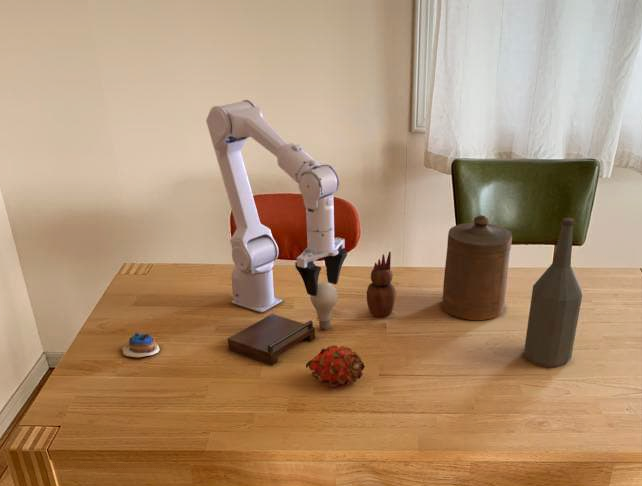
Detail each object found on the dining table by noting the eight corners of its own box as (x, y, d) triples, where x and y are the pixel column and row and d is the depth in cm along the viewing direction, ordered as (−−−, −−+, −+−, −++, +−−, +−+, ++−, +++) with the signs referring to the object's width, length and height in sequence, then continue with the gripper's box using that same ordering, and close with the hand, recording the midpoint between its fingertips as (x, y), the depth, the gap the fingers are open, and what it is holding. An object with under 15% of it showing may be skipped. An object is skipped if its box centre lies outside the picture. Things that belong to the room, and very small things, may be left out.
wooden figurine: (396, 309, 189) (398, 248, 180) (394, 320, 184) (395, 258, 175) (368, 308, 189) (368, 246, 180) (365, 318, 184) (365, 256, 175)
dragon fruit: (368, 393, 160) (311, 395, 162) (370, 355, 163) (314, 358, 165) (359, 376, 152) (299, 378, 155) (361, 336, 155) (302, 339, 157)
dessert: (167, 348, 169) (148, 331, 164) (148, 372, 168) (129, 357, 164) (148, 337, 174) (129, 321, 169) (130, 361, 173) (110, 346, 168)
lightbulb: (342, 326, 181) (341, 280, 175) (332, 337, 176) (331, 291, 170) (317, 321, 183) (316, 276, 176) (307, 332, 178) (305, 286, 171)
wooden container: (514, 304, 193) (525, 213, 179) (486, 326, 182) (496, 232, 169) (460, 289, 199) (467, 201, 186) (430, 310, 189) (436, 218, 176)
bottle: (575, 352, 173) (600, 215, 155) (564, 372, 166) (589, 231, 148) (530, 342, 176) (549, 207, 159) (517, 361, 169) (535, 222, 151)
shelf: (228, 350, 171) (226, 331, 168) (273, 324, 181) (271, 307, 178) (271, 365, 166) (270, 346, 163) (315, 338, 176) (314, 320, 173)
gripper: (314, 241, 159) (317, 304, 167) (355, 221, 169) (356, 282, 177) (287, 234, 162) (290, 296, 170) (329, 215, 172) (330, 274, 180)
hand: (322, 288), depth 174 cm, fingers open, 7 cm apart
